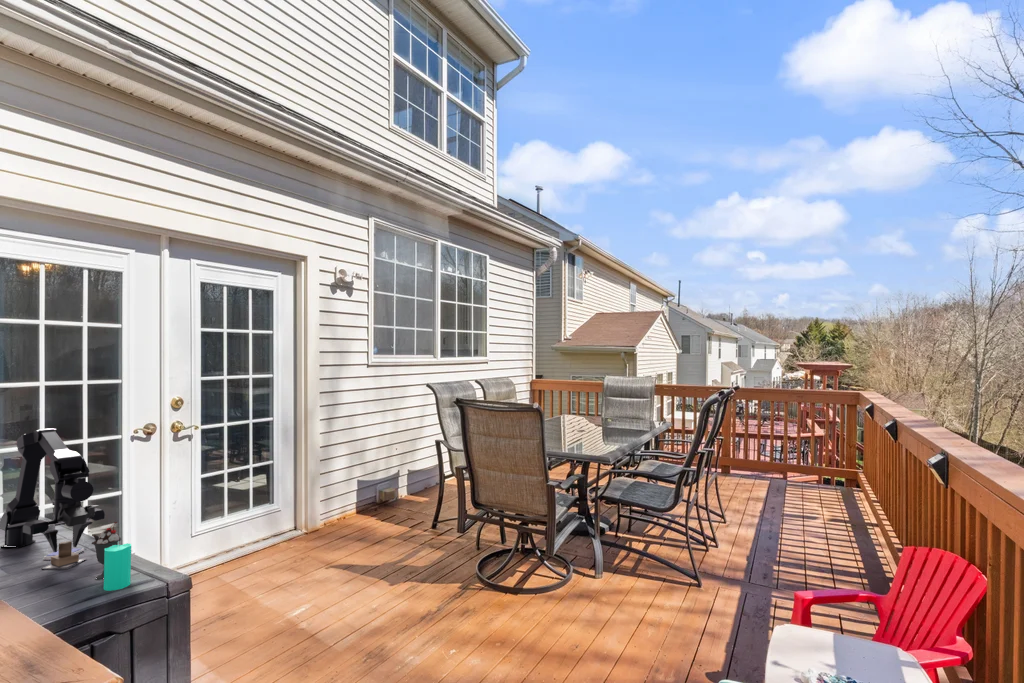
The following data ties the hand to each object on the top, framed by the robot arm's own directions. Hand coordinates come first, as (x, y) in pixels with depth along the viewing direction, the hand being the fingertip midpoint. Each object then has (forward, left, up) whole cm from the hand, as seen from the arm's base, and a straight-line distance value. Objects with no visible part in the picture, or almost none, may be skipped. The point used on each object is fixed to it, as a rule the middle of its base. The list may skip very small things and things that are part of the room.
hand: (65, 549), depth 161 cm
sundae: (+20, -10, -5) cm, 22 cm away
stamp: (0, 0, -4) cm, 4 cm away
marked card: (0, 0, -4) cm, 4 cm away
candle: (+28, -17, -5) cm, 33 cm away
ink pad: (-6, +8, -4) cm, 11 cm away
